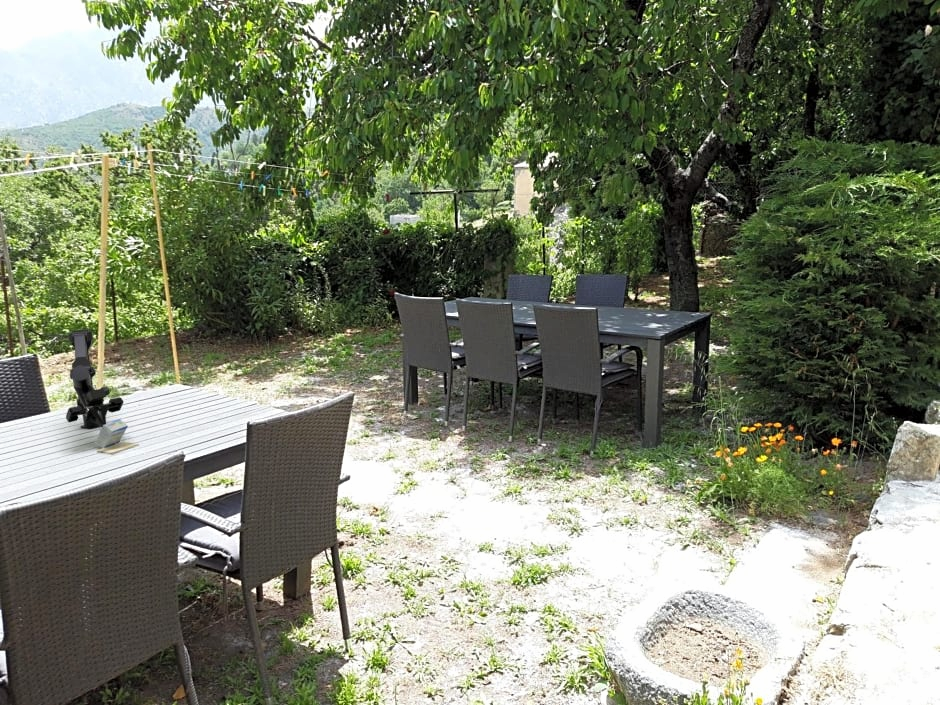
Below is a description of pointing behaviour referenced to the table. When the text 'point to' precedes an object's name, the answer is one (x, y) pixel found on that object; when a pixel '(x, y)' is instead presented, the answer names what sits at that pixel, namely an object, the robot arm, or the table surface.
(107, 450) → the pad
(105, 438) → the medicine box
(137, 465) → the table surface
